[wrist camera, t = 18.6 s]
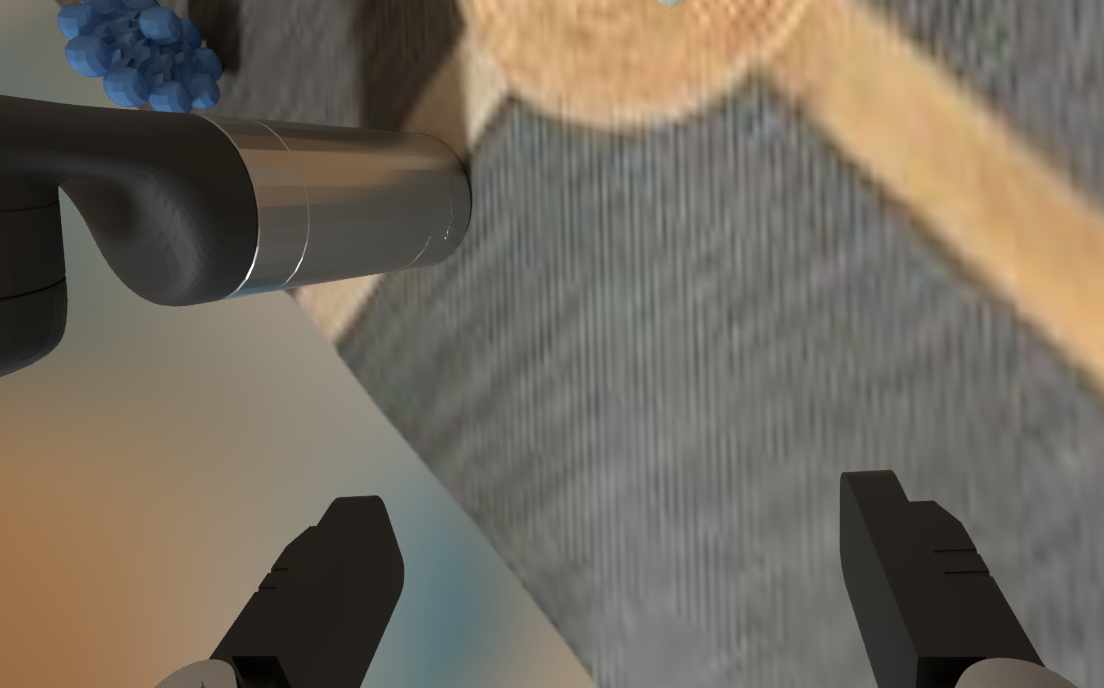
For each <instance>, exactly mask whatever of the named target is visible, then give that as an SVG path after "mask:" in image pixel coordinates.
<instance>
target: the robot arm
mask: <svg viewBox="0 0 1104 688" xmlns="http://www.w3.org/2000/svg"><path fill="white" fill-rule="evenodd" d="M58 186H60V187H61V188H62V189H63V190H64V192H65V193H66V194H67V195H68V196H69V197H70V199H71V200H72V202H73V203H74V204H75V206H76V207H77V209H78V210H79V212H80V214H81V215H82V217H83V218H84V220H85V222H86V224H87V226H88V228H89V230H90V232H91V234H92V236H93V238H94V240H95V242H96V244H97V246H98V248H99V249H100V251H101V253H102V255H103V256H104V258H105V260H106V261H107V263H108V264H109V266H110V267H111V269H112V270H113V271H114V273H115V274H116V275H117V276H118V278H120V280H121V281H122V282H123V283H124V284H125V285H126V286H127V287H128V288H129V289H131V290H132V291H133V292H135V293H136V294H137V295H139V296H140V297H142V298H144V299H146V300H148V301H150V302H153V303H155V304H159V305H166V306H187V305H195V304H201V303H206V302H212V301H218V300H224V299H230V298H237V297H243V296H248V295H254V294H261V293H265V292H271V291H277V290H283V289H289V288H295V287H301V286H307V285H313V284H319V283H325V282H331V281H337V280H344V279H350V278H356V277H362V276H368V275H374V274H380V273H386V272H393V271H399V270H405V269H411V268H417V267H423V266H429V265H433V264H436V263H438V262H441V261H443V260H444V259H446V258H447V257H448V256H450V255H451V254H452V253H453V252H454V251H455V249H456V248H457V247H458V246H459V244H460V243H461V241H462V239H463V237H464V235H465V233H466V229H467V226H468V222H469V217H470V207H471V204H470V191H469V187H468V182H467V178H466V175H465V173H464V171H463V169H462V166H461V164H460V162H459V161H458V160H457V158H456V157H455V155H454V154H453V152H452V151H451V150H450V149H449V148H448V147H447V146H446V145H445V144H443V143H442V142H440V141H438V140H437V139H435V138H434V137H431V136H427V135H424V134H417V133H405V132H394V131H384V130H375V129H364V128H352V127H341V126H330V125H319V124H307V123H296V122H285V121H274V120H262V119H251V118H236V117H225V116H214V115H202V114H191V113H178V112H163V111H146V110H129V109H115V108H103V107H91V106H80V105H72V104H62V103H55V102H48V101H40V100H33V99H26V98H19V97H12V96H4V95H0V377H2V376H4V375H7V374H10V373H13V372H15V371H17V370H19V369H22V368H24V367H26V366H29V365H31V364H33V363H34V362H36V361H38V360H39V359H41V358H43V357H44V356H46V355H47V354H49V353H50V352H51V351H52V350H54V348H55V347H56V346H57V345H58V344H59V342H60V341H61V339H62V337H63V334H64V331H65V326H66V318H67V302H68V300H67V285H66V277H65V273H66V271H65V260H64V248H63V238H62V226H61V215H60V204H59V200H58V199H59V195H58ZM840 556H841V565H842V571H843V576H844V580H845V584H846V588H847V591H848V594H849V597H850V600H851V604H852V607H853V610H854V613H855V616H856V619H857V623H858V626H859V629H860V632H861V635H862V638H863V641H864V645H865V648H866V651H867V654H868V657H869V660H870V663H871V667H872V670H873V673H874V676H875V679H876V682H877V685H878V688H1077V687H1076V686H1075V685H1074V684H1072V683H1071V682H1070V681H1068V680H1067V679H1065V678H1064V677H1062V676H1060V675H1059V674H1057V673H1055V672H1053V671H1051V670H1049V669H1047V668H1046V667H1045V666H1044V664H1043V663H1042V661H1041V660H1040V658H1039V656H1038V654H1037V653H1036V651H1035V649H1034V647H1033V646H1032V644H1031V642H1030V641H1029V639H1028V637H1027V635H1026V634H1025V632H1024V630H1023V628H1022V627H1021V625H1020V623H1019V622H1018V620H1017V618H1016V616H1015V615H1014V613H1013V611H1012V609H1011V608H1010V606H1009V604H1008V603H1007V601H1006V599H1005V597H1004V596H1003V594H1002V592H1001V590H1000V589H999V587H998V585H997V584H996V582H995V580H994V578H993V577H990V574H989V570H988V568H987V566H986V565H985V563H984V561H983V559H982V558H981V556H980V554H977V550H976V547H975V545H974V544H973V542H972V540H971V539H970V537H969V535H968V533H967V532H966V530H965V528H964V526H963V525H962V523H961V522H960V521H959V520H957V519H956V518H955V517H954V516H952V515H951V514H950V513H948V512H947V511H946V510H945V509H943V508H942V507H941V506H940V505H938V504H937V503H936V502H935V501H916V502H909V501H908V499H907V497H906V495H905V493H904V491H903V489H902V487H901V485H900V483H899V481H898V479H897V477H896V475H895V473H894V472H893V471H892V470H880V471H860V472H843V473H842V474H841V478H840ZM403 583H404V563H403V559H402V555H401V552H400V550H399V546H398V544H397V540H396V537H395V535H394V532H393V528H392V525H391V522H390V519H389V516H388V513H387V510H386V508H385V505H384V502H383V501H382V499H381V498H380V497H378V496H376V495H375V496H355V497H339V498H336V499H335V500H334V501H333V502H332V503H331V505H330V506H329V508H328V509H327V511H326V512H325V514H324V516H323V517H322V518H321V520H320V521H319V523H318V525H317V526H310V527H309V528H308V529H306V530H305V531H304V532H303V533H302V534H300V535H299V536H298V537H297V538H296V539H294V541H292V542H291V543H290V544H289V545H287V546H286V548H285V549H284V551H283V552H282V554H281V555H280V556H279V558H278V559H277V561H276V563H275V564H274V565H273V567H272V568H271V573H268V574H267V575H266V577H265V578H264V580H263V581H262V583H261V584H260V585H259V590H258V592H255V593H254V594H253V596H252V597H251V599H250V600H249V602H248V603H247V604H246V606H245V607H244V609H243V610H242V612H241V613H240V615H239V616H238V617H237V619H236V620H235V622H234V623H233V625H232V626H231V628H230V629H229V630H228V632H227V633H226V635H225V636H224V638H223V639H222V641H221V642H220V644H219V645H218V647H217V648H216V649H215V651H214V652H213V654H212V655H211V657H210V658H209V660H203V661H199V662H195V663H192V664H190V665H187V666H185V667H183V668H181V669H179V670H177V671H175V672H174V673H172V674H171V675H169V676H168V677H166V678H165V679H164V680H162V681H161V682H160V683H159V684H158V685H157V686H156V687H154V688H360V686H361V684H362V681H363V679H364V677H365V675H366V672H367V670H368V668H369V665H370V663H371V661H372V659H373V656H374V654H375V652H376V650H377V647H378V645H379V642H380V640H381V638H382V636H383V633H384V631H385V629H386V627H387V624H388V622H389V620H390V618H391V615H392V613H393V611H394V609H395V606H396V604H397V601H398V599H399V597H400V595H401V592H402V588H403Z"/></svg>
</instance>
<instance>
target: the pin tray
mask: <svg viewBox="0 0 1104 688" xmlns="http://www.w3.org/2000/svg"><path fill="white" fill-rule="evenodd" d="M657 1H659V2H660V3H662V4H663V5H665V6H667V7H668V8H672V7H674V6H675V5H677V4H679V3H681V2H682V1H684V0H657Z"/></svg>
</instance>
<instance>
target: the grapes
mask: <svg viewBox="0 0 1104 688" xmlns="http://www.w3.org/2000/svg"><path fill="white" fill-rule="evenodd" d="M81 2H82V4H70V5H67V6H65V7H63V8H61V10H60V12H59V13H58V15H57V22H58V27H59V28H60V30H61V32H62V33H63V35H64V36H65V37H67V38H68V39H69V42H68V44H67V46H66V47H65V54H66V59H67V60H68V62H69V64H70V65H71V67H72V68H73V69H75V70H76V71H77V72H79V74H81V75H84V76H88V77H102V76H104V75H105V76H104V78H103V87H104V90H105V92H106V94H107V95H108V97H109V98H110V99H111V100H112V101H114V102H115V103H116V104H117V105H120V106H124V107H138V106H140V105H142V104H144V103H146V102H147V100H148V98H149V102H150V104H151V106H152V108H153V109H154V111H163V112H178V113H189V112H190V110H191V108H192V107H194V108H198V109H206V108H210V107H212V106H214V105H216V103H217V102H218V100H219V98H220V92H219V87H218V85H217V83H216V81H217V80H219V79H220V77H221V75H222V73H223V71H222V63H221V61H220V59H219V57H218V56H217V54H216V53H215V52H214V51H213V50H211V49H208V48H200V46H201V45H202V41H201V34H200V32H199V30H198V28H197V27H196V26H195V25H194V23H193V22H192V21H191V20H187V19H182V18H178V16H177V15H176V14H175V13H174V12H173V11H172V10H171V9H170V8H166V7H162V6H161V5H160V4H159V3H158V2H157V1H156V0H126V2H125V3H124V2H123V0H81Z"/></svg>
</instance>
